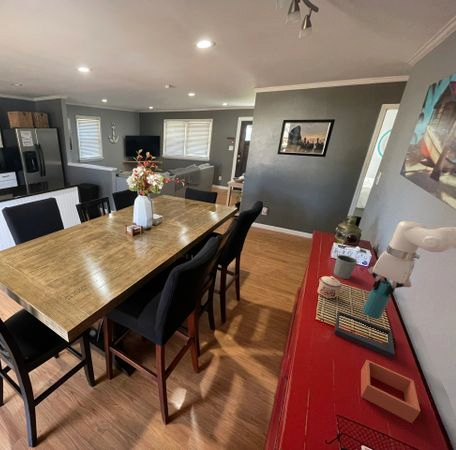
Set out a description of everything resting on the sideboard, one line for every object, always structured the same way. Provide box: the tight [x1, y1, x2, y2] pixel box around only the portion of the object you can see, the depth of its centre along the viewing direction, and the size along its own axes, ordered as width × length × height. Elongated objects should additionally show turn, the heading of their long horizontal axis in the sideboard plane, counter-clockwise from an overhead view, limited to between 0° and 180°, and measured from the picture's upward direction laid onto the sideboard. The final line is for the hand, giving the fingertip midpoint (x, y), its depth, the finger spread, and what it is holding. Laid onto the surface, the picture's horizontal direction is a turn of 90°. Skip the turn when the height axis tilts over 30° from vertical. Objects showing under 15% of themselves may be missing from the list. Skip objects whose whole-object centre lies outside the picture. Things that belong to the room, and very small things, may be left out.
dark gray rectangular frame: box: [333, 310, 396, 359], centre depth 107 cm, size 20×16×3 cm
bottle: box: [362, 279, 392, 320], centre depth 100 cm, size 6×6×16 cm
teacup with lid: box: [316, 275, 347, 299], centre depth 131 cm, size 12×9×12 cm
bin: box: [360, 359, 421, 424], centre depth 82 cm, size 13×13×6 cm
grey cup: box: [333, 254, 358, 280], centre depth 151 cm, size 10×10×12 cm
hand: (381, 291), depth 98 cm, fingers closed on bottle, 3 cm apart
